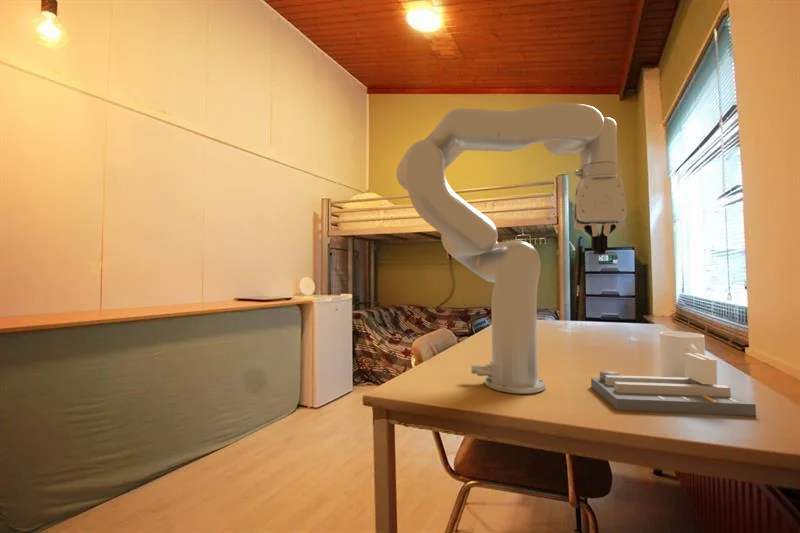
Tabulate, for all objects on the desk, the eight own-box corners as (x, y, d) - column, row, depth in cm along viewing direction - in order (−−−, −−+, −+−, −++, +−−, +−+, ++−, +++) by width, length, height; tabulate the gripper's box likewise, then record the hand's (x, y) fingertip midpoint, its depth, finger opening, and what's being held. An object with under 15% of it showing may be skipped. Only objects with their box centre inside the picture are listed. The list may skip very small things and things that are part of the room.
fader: (700, 393, 71) (700, 358, 72) (683, 385, 77) (683, 352, 77) (719, 394, 71) (718, 359, 71) (700, 385, 76) (699, 352, 77)
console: (617, 410, 70) (616, 389, 70) (591, 386, 84) (591, 369, 84) (755, 416, 66) (755, 394, 66) (705, 390, 80) (704, 372, 80)
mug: (721, 391, 80) (720, 340, 80) (674, 387, 82) (673, 339, 83) (695, 375, 92) (694, 332, 92) (655, 373, 94) (654, 330, 94)
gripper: (567, 172, 87) (568, 253, 87) (640, 168, 85) (642, 252, 84) (560, 179, 95) (561, 255, 95) (627, 176, 92) (628, 254, 92)
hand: (599, 253), depth 89 cm, fingers closed
